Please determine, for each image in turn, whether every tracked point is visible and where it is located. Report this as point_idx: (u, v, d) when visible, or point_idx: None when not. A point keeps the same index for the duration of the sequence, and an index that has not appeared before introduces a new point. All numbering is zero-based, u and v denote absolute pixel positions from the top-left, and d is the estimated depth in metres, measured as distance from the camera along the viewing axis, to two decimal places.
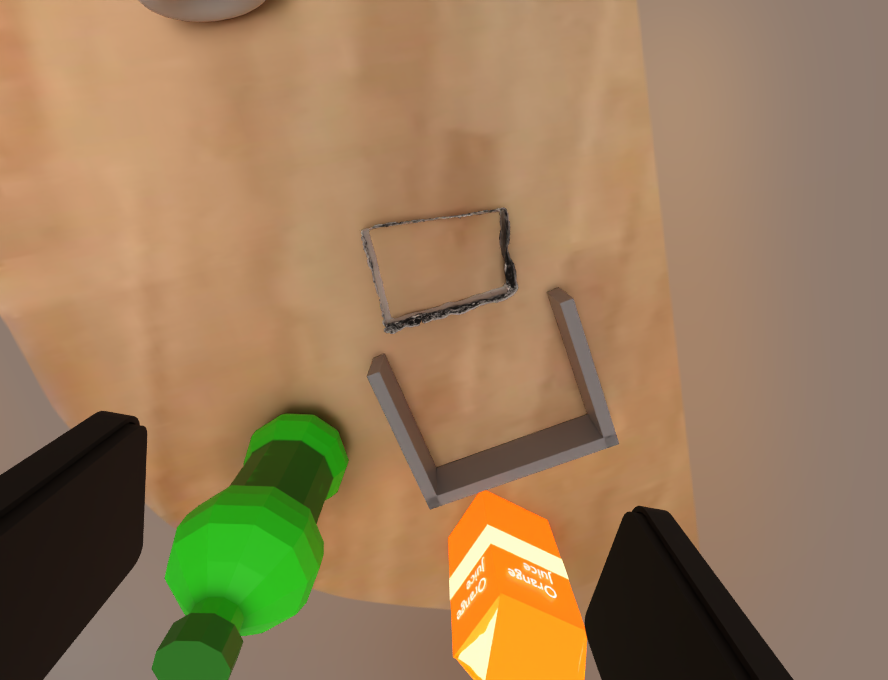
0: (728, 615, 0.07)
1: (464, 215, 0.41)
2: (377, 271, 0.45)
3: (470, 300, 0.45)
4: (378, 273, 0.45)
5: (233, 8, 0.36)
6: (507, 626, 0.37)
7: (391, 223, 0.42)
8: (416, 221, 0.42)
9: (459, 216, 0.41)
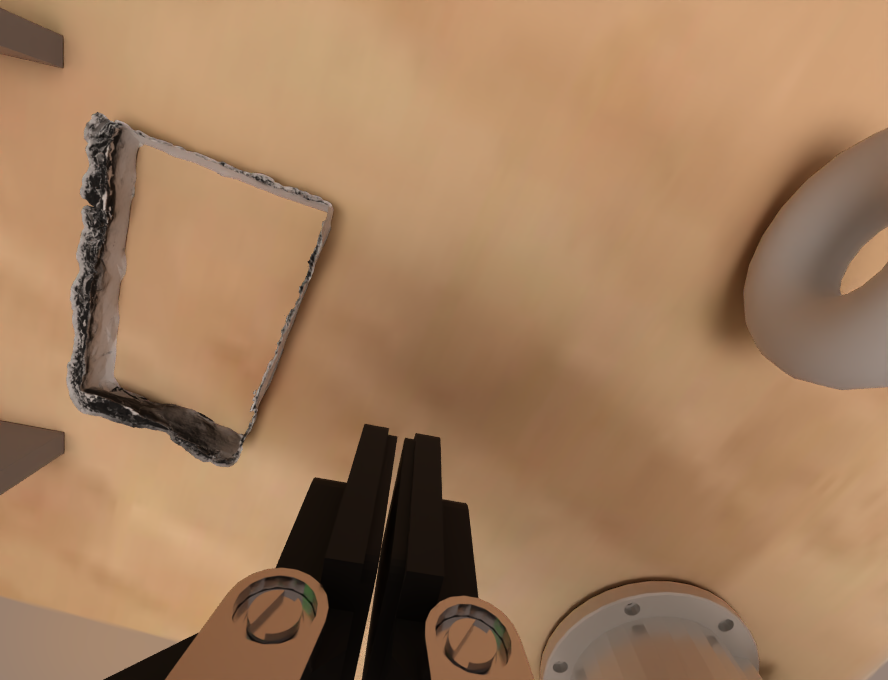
0: (424, 507, 0.07)
1: (255, 399, 0.22)
2: (246, 180, 0.21)
3: (103, 315, 0.22)
4: (242, 179, 0.21)
5: (778, 254, 0.20)
6: None
7: (311, 271, 0.20)
8: (289, 317, 0.21)
9: (257, 392, 0.21)
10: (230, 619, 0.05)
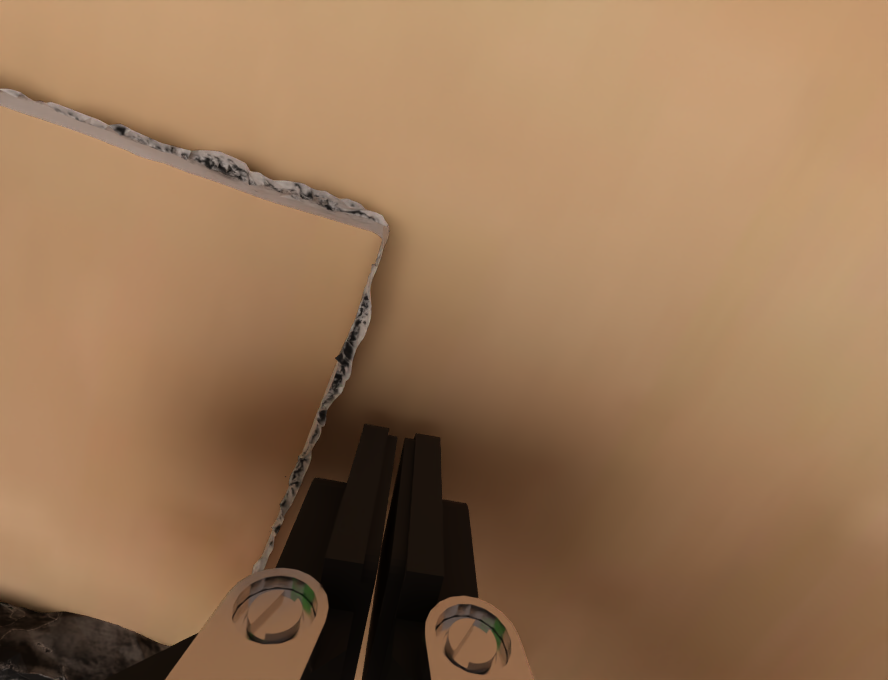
0: (423, 507, 0.07)
1: None
2: (187, 169, 0.09)
3: None
4: (177, 167, 0.09)
5: None
6: None
7: (343, 375, 0.09)
8: (296, 476, 0.09)
9: None
10: (230, 619, 0.05)
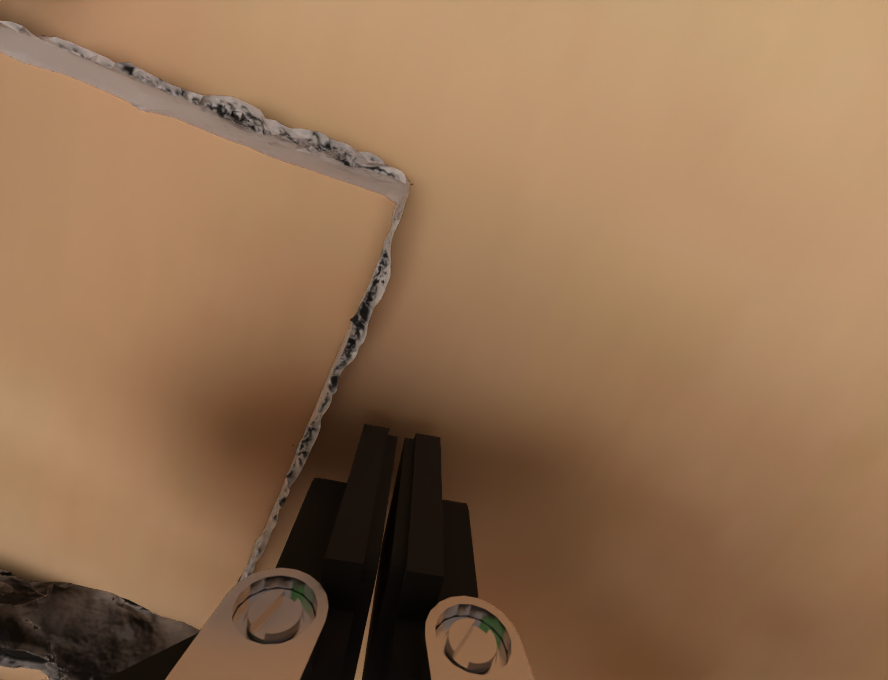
0: (423, 507, 0.07)
1: None
2: (197, 119, 0.09)
3: None
4: (186, 117, 0.09)
5: None
6: None
7: (356, 340, 0.08)
8: (304, 446, 0.09)
9: None
10: (230, 619, 0.05)
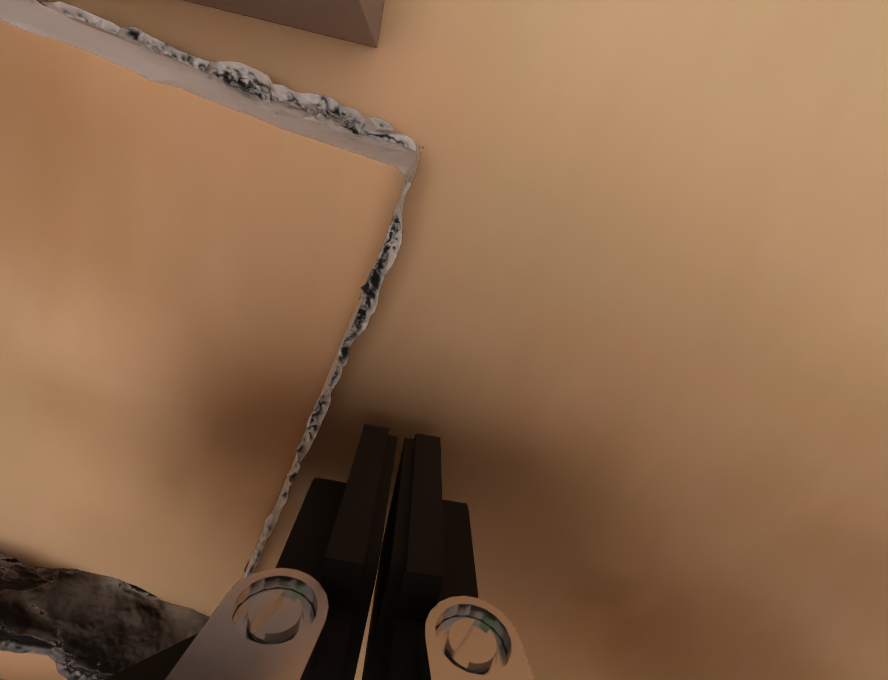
0: (423, 507, 0.07)
1: None
2: (202, 89, 0.09)
3: None
4: (192, 87, 0.09)
5: None
6: None
7: (367, 310, 0.08)
8: (314, 420, 0.09)
9: None
10: (230, 619, 0.05)
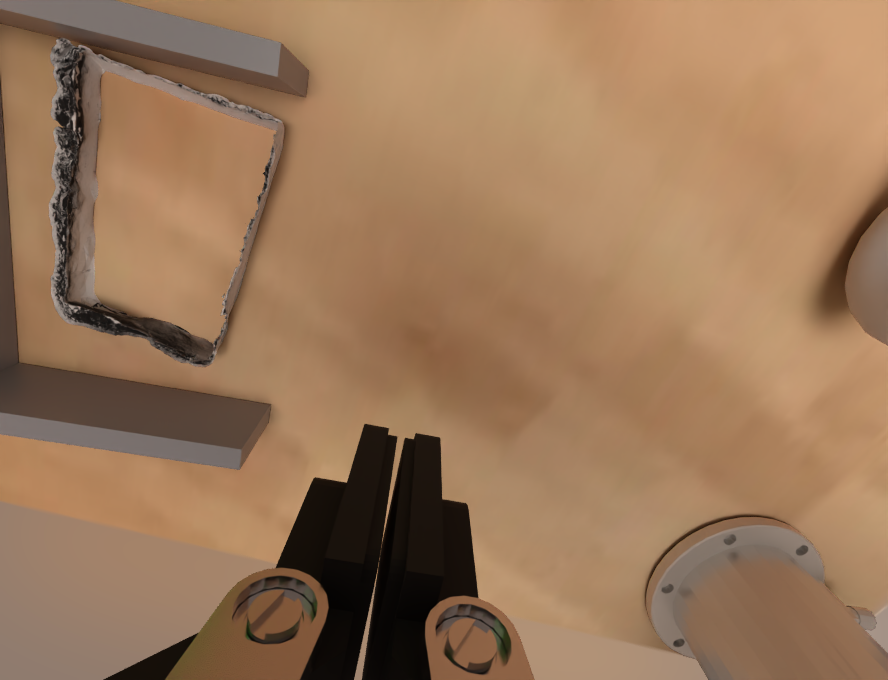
0: (423, 507, 0.07)
1: (224, 303, 0.24)
2: (203, 102, 0.23)
3: (80, 233, 0.24)
4: (199, 102, 0.23)
5: (881, 253, 0.25)
6: None
7: (267, 183, 0.23)
8: (249, 226, 0.23)
9: (225, 296, 0.24)
10: (230, 619, 0.05)
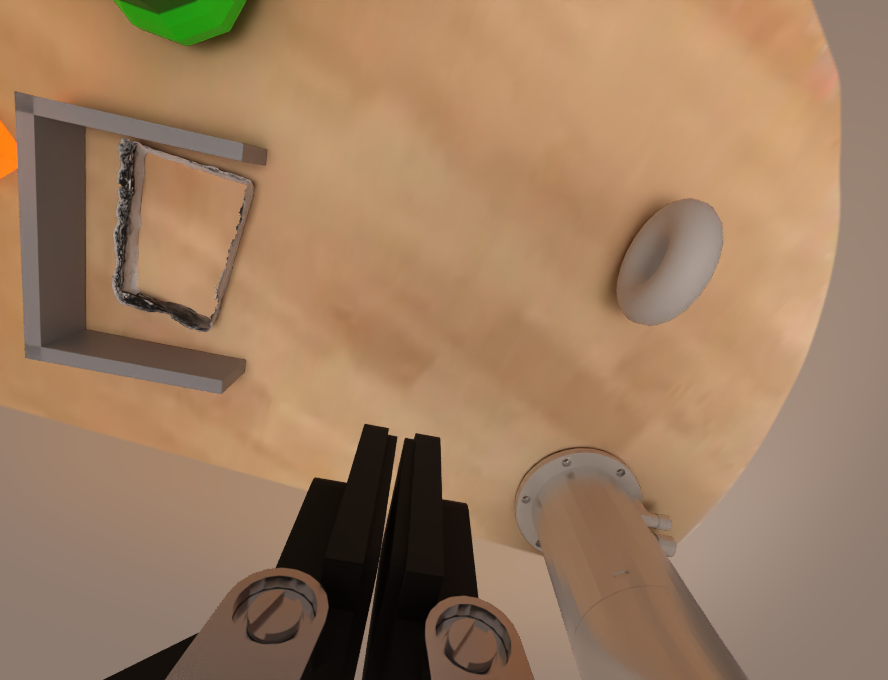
0: (423, 507, 0.07)
1: (216, 291, 0.39)
2: (204, 170, 0.38)
3: (130, 249, 0.39)
4: (202, 169, 0.38)
5: (630, 261, 0.39)
6: None
7: (241, 217, 0.38)
8: (231, 243, 0.38)
9: (217, 287, 0.39)
10: (230, 619, 0.05)
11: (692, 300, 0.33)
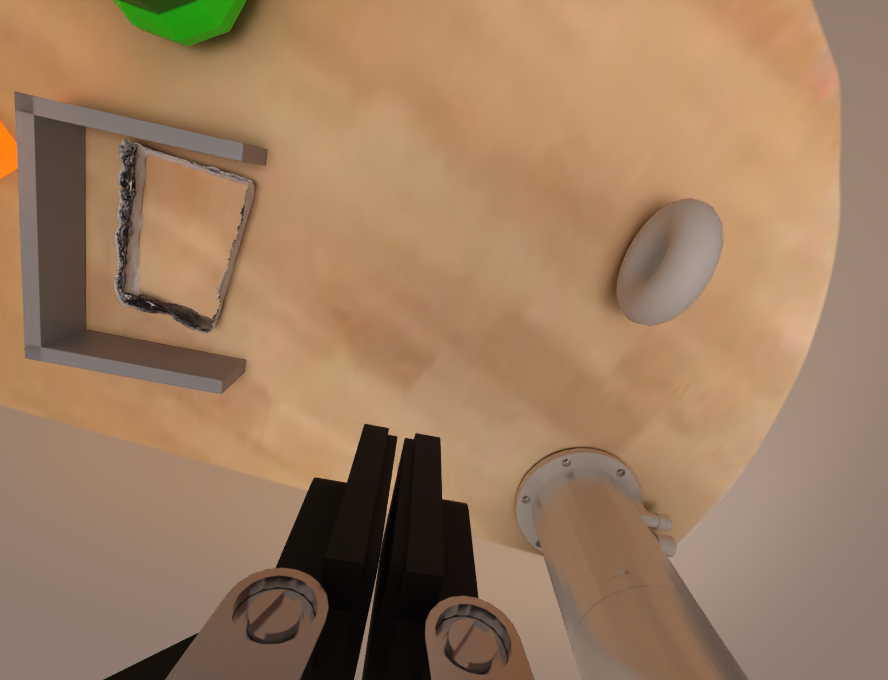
0: (423, 507, 0.07)
1: (218, 292, 0.39)
2: (205, 171, 0.38)
3: (132, 250, 0.39)
4: (203, 170, 0.38)
5: (630, 261, 0.39)
6: None
7: (243, 218, 0.38)
8: (233, 244, 0.38)
9: (219, 287, 0.39)
10: (230, 619, 0.05)
11: (692, 300, 0.33)
